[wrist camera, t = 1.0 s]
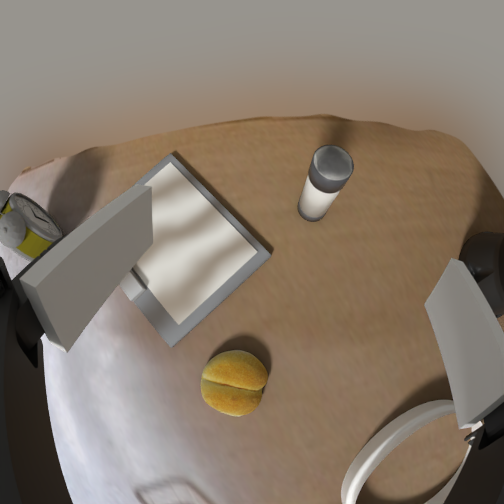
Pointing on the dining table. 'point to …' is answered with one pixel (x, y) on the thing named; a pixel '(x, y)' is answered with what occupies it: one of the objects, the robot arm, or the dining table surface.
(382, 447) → the white hollow ring
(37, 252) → the alarm clock
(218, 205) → the clipboard
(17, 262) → the dining table surface
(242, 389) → the bread roll
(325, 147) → the white grey cylinder
